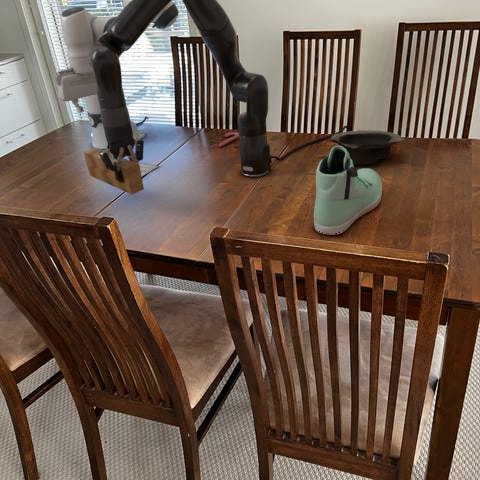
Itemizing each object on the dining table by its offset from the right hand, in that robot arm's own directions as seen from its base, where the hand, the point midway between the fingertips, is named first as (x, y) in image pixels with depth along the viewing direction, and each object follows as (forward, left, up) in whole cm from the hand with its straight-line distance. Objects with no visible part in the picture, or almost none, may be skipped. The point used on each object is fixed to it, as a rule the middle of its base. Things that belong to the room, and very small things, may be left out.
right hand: (128, 178), depth 141 cm
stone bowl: (-82, +15, -11) cm, 84 cm away
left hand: (-3, -32, +13) cm, 35 cm away
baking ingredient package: (-12, -28, -11) cm, 33 cm away
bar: (+2, -8, -3) cm, 9 cm away
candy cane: (-54, -33, -11) cm, 64 cm away
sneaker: (-50, +40, -11) cm, 65 cm away
